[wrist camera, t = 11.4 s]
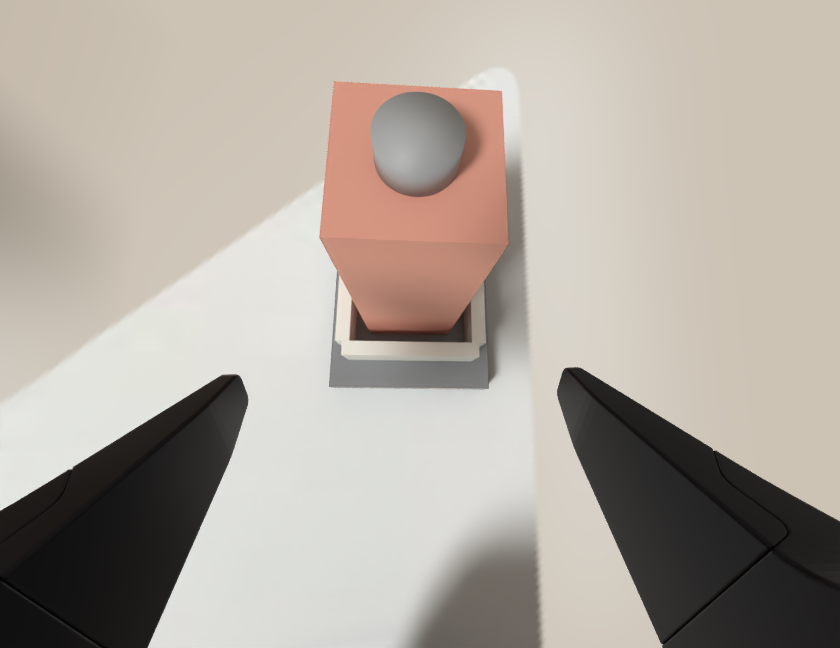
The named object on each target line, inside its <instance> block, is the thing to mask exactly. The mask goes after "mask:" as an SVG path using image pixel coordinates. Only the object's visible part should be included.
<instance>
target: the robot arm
mask: <svg viewBox="0 0 840 648" xmlns="http://www.w3.org/2000/svg"><path fill="white" fill-rule="evenodd" d="M557 396H558V400H559V403H560V406H561V409H562V412H563V416H564V419H565V421H566V424H567V428H568V431H569V434H570V437H571V440H572V443H573V446H574V449H575V451H576V453H577V456H578V458H579V460H580V462H581V465H582V467H583V469H584V471H585V474H586V476H587V478H588V480H589V482H590V485H591V487H592V489H593V492H594V494H595V496H596V498H597V501H598V503H599V505H600V507H601V510H602V512H603V514H604V516H605V519H606V521H607V523H608V525H609V528H610V530H611V532H612V534H613V536H614V539H615V541H616V543H617V545H618V548H619V550H620V552H621V554H622V557H623V559H624V561H625V563H626V566H627V568H628V570H629V573H630V575H631V577H632V579H633V581H634V584H635V586H636V588H637V590H638V593H639V595H640V597H641V599H642V602H643V604H644V606H645V608H646V611H647V613H648V615H649V617H650V620H651V622H652V624H653V626H654V629H655V631H656V633H657V635H658V637H659V640H660V642H661V644H663V646H662V647H663V648H840V521H838V520H836V519H834V518H833V517H831V516H829V515H827V514H825V513H824V512H822V511H820V510H818V509H816V508H814V507H813V506H811V505H809V504H807V503H805V502H803V501H802V500H800V499H798V498H796V497H794V496H792V495H791V494H789V493H787V492H785V491H784V490H782V489H780V488H778V487H776V486H775V485H773V484H771V483H769V482H768V481H766V480H764V479H762V478H761V477H759V476H757V475H756V474H754V473H752V472H751V471H749V470H747V469H745V468H744V467H742V466H740V465H739V464H737V463H735V462H734V461H732V460H730V459H729V458H727V457H726V456H724V455H722V454H720V453H719V452H717V451H713V449H712V448H711V447H709V446H708V445H706V444H704V443H703V442H701V441H699V440H698V439H696V438H694V437H693V436H691V435H690V434H688V433H686V432H684V431H683V430H681V429H679V428H678V427H676V426H675V425H673V424H671V423H670V422H668V421H667V420H665V419H663V418H662V417H660V416H658V415H657V414H655V413H654V412H652V411H650V410H649V409H647V408H645V407H644V406H642V405H641V404H639V403H637V402H636V401H634V400H632V399H631V398H629V397H627V396H626V395H624V394H623V393H621V392H619V391H618V390H616V389H614V388H613V387H611V386H609V385H608V384H606V383H604V382H603V381H601V380H600V379H598V378H596V377H595V376H593V375H591V374H590V373H588V372H587V371H585V370H583V369H582V368H578V367H577V368H576V367H574V368H565V369H564V370H563V373H562V376H561V379H560V382H559V386H558V390H557ZM247 406H248V395H247V392H246V390H245V387H244V384H243V382H242V379H241V377H240V376H239V375H237V374H229V375H221V376H220V377H218V378H216V379H215V380H213V381H211V382H210V383H208V384H207V385H205V386H203V387H202V388H200V389H199V390H197V391H195V392H194V393H192V394H190V395H189V396H187V397H186V398H184V399H182V400H181V401H179V402H178V403H176V404H174V405H173V406H171V407H169V408H168V409H166V410H165V411H163V412H161V413H160V414H158V415H156V416H155V417H153V418H152V419H150V420H148V421H147V422H145V423H144V424H142V425H140V426H139V427H137V428H135V429H134V430H132V431H131V432H129V433H127V434H126V435H124V436H123V437H121V438H119V439H118V440H116V441H114V442H113V443H111V444H110V445H108V446H106V447H105V448H103V449H101V450H100V451H98V452H97V453H95V454H93V455H92V456H90V457H89V458H87V459H85V460H84V461H82V462H80V463H79V464H77V465H76V466H74V467H73V469H72V470H71V469H70V470H67V471H66V472H64V473H63V474H61V475H59V476H58V477H56V478H55V479H53V480H51V481H50V482H48V483H46V484H45V485H43V486H41V487H40V488H38V489H36V490H35V491H33V492H31V493H30V494H28V495H27V496H25V497H23V498H22V499H20V500H18V501H17V502H15V503H13V504H11V505H10V506H8V507H6V508H4V509H3V510H1V511H0V648H148V645H149V643H150V641H151V639H152V636H153V634H154V632H155V629H156V627H157V625H158V623H159V620H160V618H161V616H162V614H163V611H164V609H165V607H166V604H167V602H168V600H169V598H170V595H171V593H172V591H173V588H174V586H175V584H176V582H177V579H178V577H179V575H180V573H181V570H182V568H183V566H184V563H185V561H186V559H187V557H188V554H189V552H190V550H191V548H192V545H193V543H194V541H195V538H196V536H197V534H198V532H199V529H200V527H201V525H202V522H203V520H204V518H205V516H206V513H207V511H208V509H209V507H210V504H211V502H212V500H213V497H214V495H215V493H216V491H217V488H218V486H219V484H220V481H221V479H222V477H223V475H224V472H225V470H226V468H227V466H228V463H229V461H230V458H231V456H232V453H233V450H234V447H235V444H236V441H237V438H238V434H239V431H240V428H241V425H242V422H243V419H244V415H245V412H246V409H247Z"/></svg>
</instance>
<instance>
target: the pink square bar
mask: <svg viewBox="0 0 840 648" xmlns="http://www.w3.org/2000/svg"><path fill="white" fill-rule="evenodd" d="M320 239H321V241H322V243H323V245H324V247H325V249H326V251H327V253H328V254H329V256H330V258H331V260H332V262H333V264H334V266H335V268H336V269H337V271H338V273H339V275H340V277H341V279H342V281H343V283H344V285H345V286H346V288H347V290H348V292H349V294H350V296H351V298H352V300H353V302H354V303H355V305H356V307H357V309H358V311H359V313H360V315H361V317H362V319H363V320H364V322H365V324H366V326H367V328H368V330H369V332H370V333H387V334H425V335H448V333H449V332H450V330H451V329H452V327H453V326H454V324H455V323H456V321H457V320H458V318H459V317H460V316H461V314H462V313H463V311H464V310H465V308H466V307H467V305H468V304H469V302H470V301H471V299H472V298H473V296H474V295H475V293H476V292H477V290H478V289H479V288H480V286H481V285H482V283H483V282H484V280H485V279H486V277H487V276H488V274H489V273H490V271H491V270H492V268H493V267H494V265H495V264H496V262H497V261H498V260H499V258H500V257H501V255H502V254H503V252H504V251H505V249H506V248H507V246H508V245H509V239H508V217H507V194H506V172H505V150H504V128H503V105H502V91H492V90H474V89H457V88H440V87H421V86H405V85H404V86H403V85H387V84H369V83H352V82H334V86H333V97H332V108H331V119H330V129H329V140H328V151H327V161H326V172H325V183H324V194H323V204H322V215H321V226H320Z"/></svg>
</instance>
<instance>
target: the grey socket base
mask: <svg viewBox="0 0 840 648" xmlns="http://www.w3.org/2000/svg"><path fill="white" fill-rule="evenodd" d="M329 387H333V388H415V389H489V382H488V354H487V326H486V297H485V280H484V282H483V283H482V285H481V286H480V288H479V289H478V290H477V292H476V293H475V295H474V296H473V298H472V299H471V301H470V302H469V304H468V305H467V307H466V308H465V310H464V311H463V313H462V314H461V316H460V317H459V318H458V320H457V321H456V323H455V324H454V326H453V327H452V329H451V330H450V332H449V333H448V335H425V334H387V333H370V332H369V330H368V328H367V326H366V324H365V322H364V320H363V319H362V317H361V315H360V313H359V311H358V309H357V307H356V305H355V303H354V302H353V300H352V298H351V296H350V294H349V292H348V290H347V288H346V286H345V285H344V283H343V281H342V279H341V277H340V275H339V273H338V271H337V280H336V294H335V308H334V323H333V337H332V352H331V366H330V381H329Z"/></svg>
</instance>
